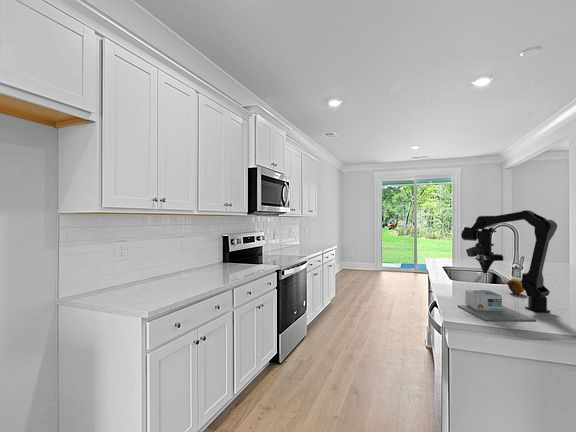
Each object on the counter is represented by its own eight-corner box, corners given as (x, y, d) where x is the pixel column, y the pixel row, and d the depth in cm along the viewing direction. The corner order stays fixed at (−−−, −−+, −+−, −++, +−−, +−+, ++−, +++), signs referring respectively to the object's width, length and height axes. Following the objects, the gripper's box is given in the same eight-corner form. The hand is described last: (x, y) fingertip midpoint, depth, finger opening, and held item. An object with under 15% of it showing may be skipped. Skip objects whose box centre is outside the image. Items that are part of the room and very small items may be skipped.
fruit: (517, 296, 168) (517, 280, 168) (502, 292, 176) (503, 277, 176) (528, 295, 170) (529, 279, 170) (513, 291, 178) (514, 276, 178)
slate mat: (535, 321, 128) (536, 319, 128) (485, 320, 128) (485, 319, 128) (501, 306, 148) (501, 305, 148) (457, 306, 148) (457, 305, 148)
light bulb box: (489, 289, 149) (502, 295, 138) (489, 304, 149) (502, 311, 138) (464, 289, 150) (476, 294, 139) (464, 304, 150) (476, 310, 139)
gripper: (457, 240, 171) (457, 270, 171) (481, 242, 152) (480, 276, 152) (478, 240, 171) (478, 270, 171) (504, 242, 153) (504, 276, 153)
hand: (484, 273), depth 162 cm, fingers closed
